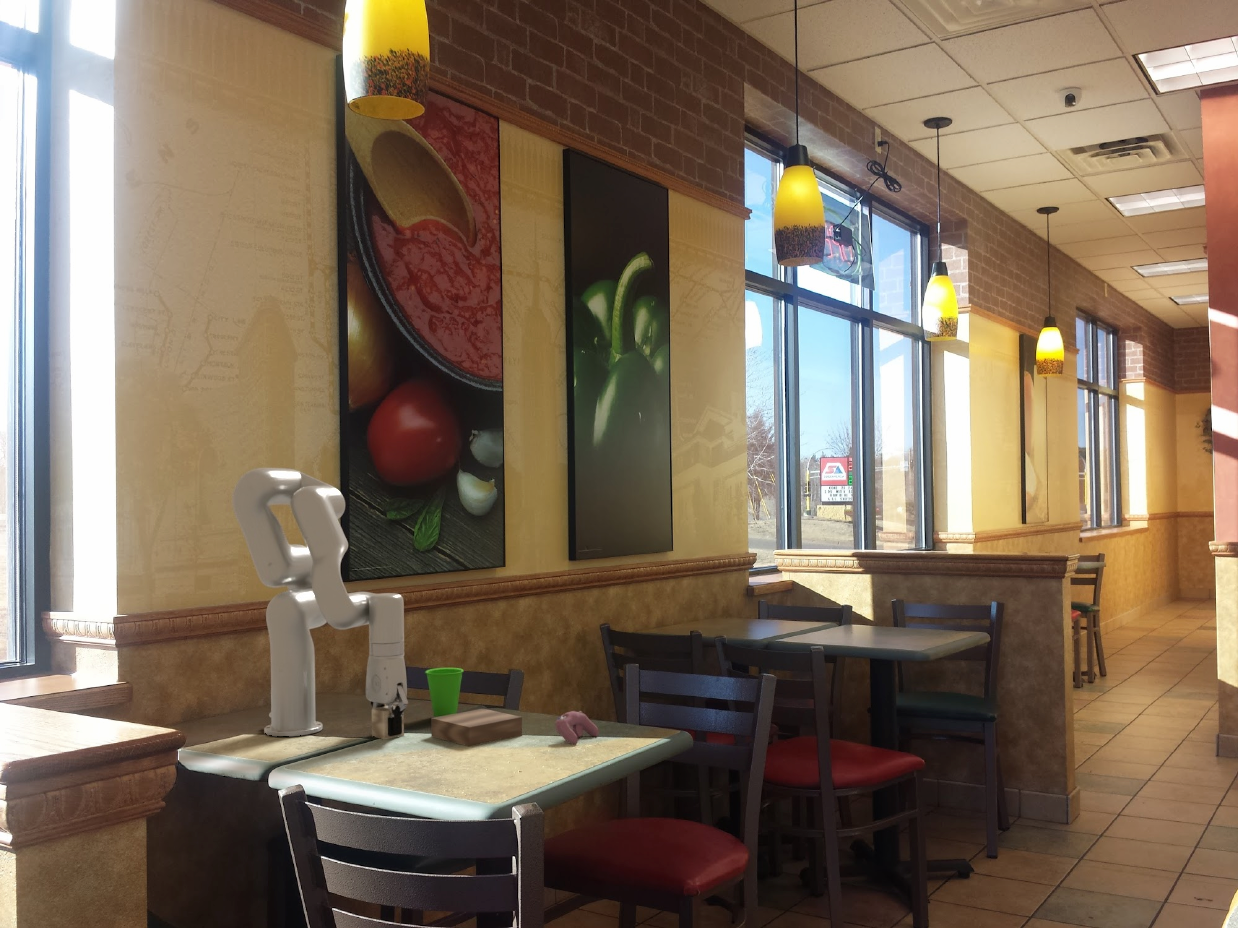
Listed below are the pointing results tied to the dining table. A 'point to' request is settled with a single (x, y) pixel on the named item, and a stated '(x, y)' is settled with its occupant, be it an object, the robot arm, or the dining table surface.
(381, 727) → the birch block
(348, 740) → the dining table surface
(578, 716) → the video game controller
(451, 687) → the cup
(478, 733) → the walnut block
